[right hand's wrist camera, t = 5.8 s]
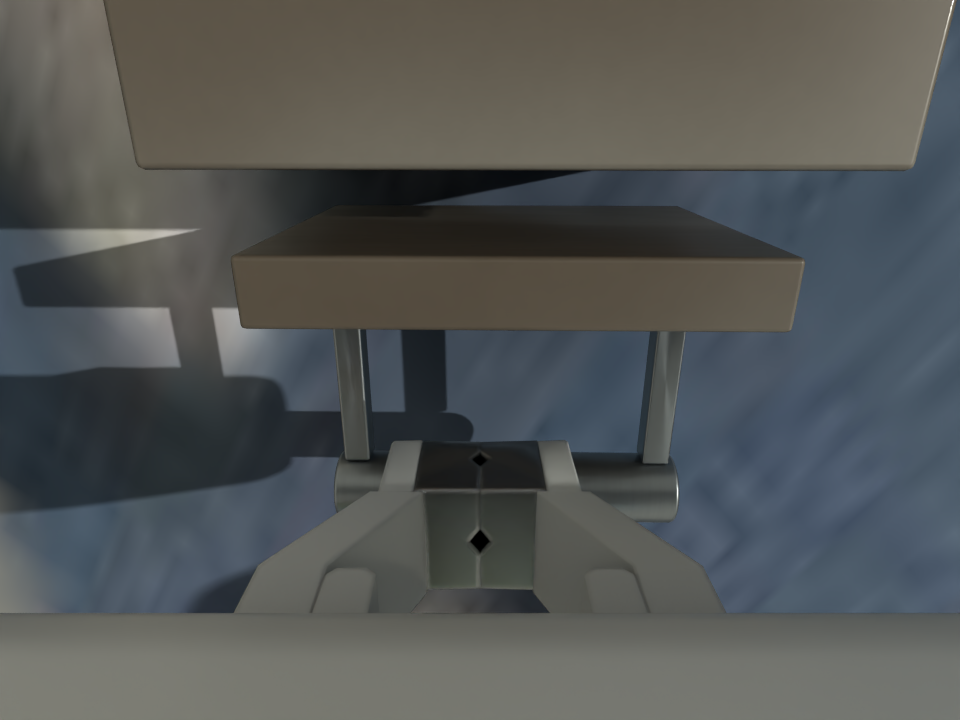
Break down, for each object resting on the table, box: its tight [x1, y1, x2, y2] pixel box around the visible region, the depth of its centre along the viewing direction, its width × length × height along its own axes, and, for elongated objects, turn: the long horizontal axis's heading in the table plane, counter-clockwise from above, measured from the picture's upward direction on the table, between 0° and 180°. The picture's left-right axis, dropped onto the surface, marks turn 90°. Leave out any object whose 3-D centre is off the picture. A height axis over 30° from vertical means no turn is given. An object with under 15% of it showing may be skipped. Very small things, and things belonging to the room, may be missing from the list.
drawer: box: [231, 205, 805, 522], centre depth 11 cm, size 22×9×7 cm, turn 0°
